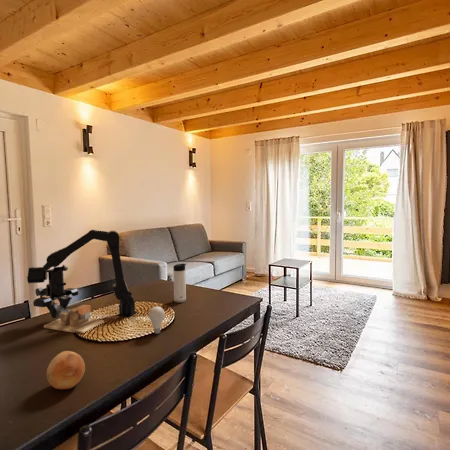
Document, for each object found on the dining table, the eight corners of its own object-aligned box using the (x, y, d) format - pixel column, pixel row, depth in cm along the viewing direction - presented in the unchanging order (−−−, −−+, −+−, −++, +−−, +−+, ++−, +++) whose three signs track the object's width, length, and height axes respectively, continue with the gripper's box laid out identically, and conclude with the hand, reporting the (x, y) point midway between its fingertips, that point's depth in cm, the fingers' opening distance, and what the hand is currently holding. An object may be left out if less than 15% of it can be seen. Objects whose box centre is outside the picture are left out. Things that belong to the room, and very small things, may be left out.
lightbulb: (167, 331, 125) (167, 305, 124) (159, 337, 119) (159, 310, 119) (154, 329, 127) (153, 303, 126) (146, 335, 121) (145, 308, 121)
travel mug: (184, 303, 160) (183, 265, 159) (172, 302, 162) (171, 264, 160) (188, 299, 167) (187, 262, 165) (176, 298, 168) (175, 262, 166)
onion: (38, 392, 85) (36, 358, 85) (68, 374, 95) (66, 342, 94) (65, 400, 82) (63, 364, 81) (93, 380, 91) (91, 347, 91)
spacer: (90, 311, 132) (90, 305, 132) (83, 314, 128) (82, 308, 128) (86, 310, 133) (85, 304, 133) (78, 313, 129) (78, 308, 129)
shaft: (91, 319, 132) (90, 308, 132) (84, 322, 128) (83, 312, 128) (59, 314, 138) (59, 305, 137) (52, 318, 134) (51, 307, 134)
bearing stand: (104, 322, 135) (103, 305, 135) (83, 333, 124) (82, 314, 123) (66, 317, 142) (65, 300, 141) (43, 327, 131) (42, 309, 130)
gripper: (59, 275, 146) (61, 307, 147) (22, 285, 128) (24, 322, 129) (78, 276, 142) (79, 309, 143) (42, 287, 125) (44, 325, 126)
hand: (58, 316), depth 135 cm, fingers closed on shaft, 4 cm apart
